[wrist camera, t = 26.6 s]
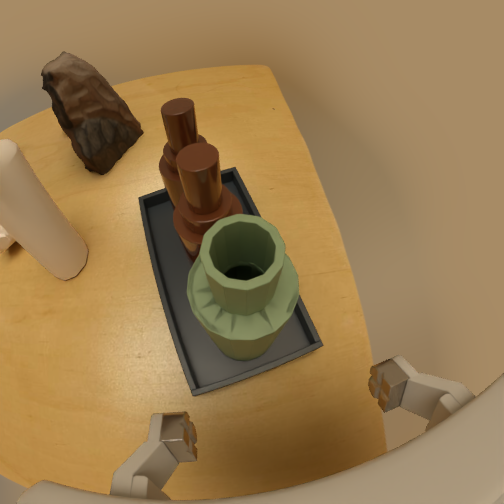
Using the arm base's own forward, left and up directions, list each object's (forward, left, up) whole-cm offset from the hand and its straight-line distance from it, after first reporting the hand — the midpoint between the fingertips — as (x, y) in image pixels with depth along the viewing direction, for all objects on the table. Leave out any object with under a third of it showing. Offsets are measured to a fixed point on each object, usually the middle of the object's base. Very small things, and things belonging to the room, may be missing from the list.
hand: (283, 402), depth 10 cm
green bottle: (+6, -1, -16) cm, 17 cm away
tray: (+14, 0, -17) cm, 22 cm away
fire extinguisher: (+24, +19, -17) cm, 35 cm away
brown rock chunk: (+43, +11, -17) cm, 47 cm away
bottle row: (+16, 0, -16) cm, 22 cm away
